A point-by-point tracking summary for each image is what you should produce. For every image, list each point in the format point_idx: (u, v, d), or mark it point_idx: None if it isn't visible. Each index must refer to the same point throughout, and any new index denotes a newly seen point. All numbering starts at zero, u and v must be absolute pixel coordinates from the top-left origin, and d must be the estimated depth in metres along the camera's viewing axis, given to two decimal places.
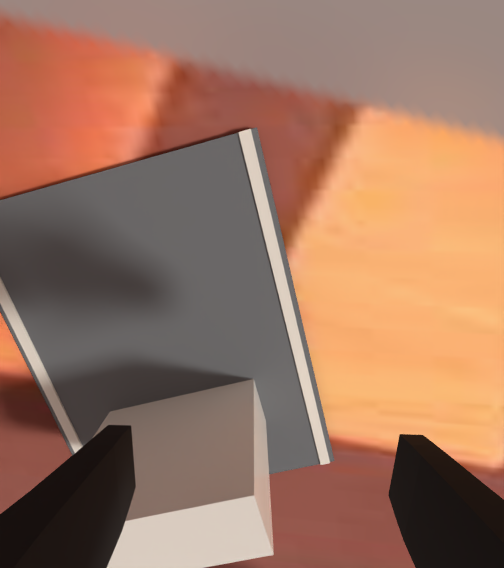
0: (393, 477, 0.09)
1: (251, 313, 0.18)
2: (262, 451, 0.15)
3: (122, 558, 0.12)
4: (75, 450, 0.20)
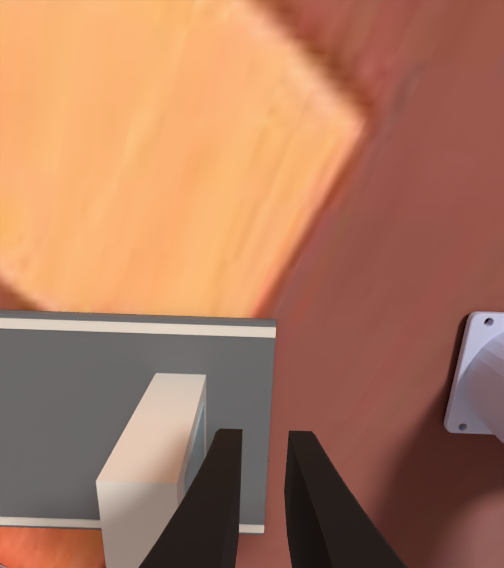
0: (286, 473, 0.09)
1: (87, 357, 0.19)
2: (168, 415, 0.15)
3: None
4: None
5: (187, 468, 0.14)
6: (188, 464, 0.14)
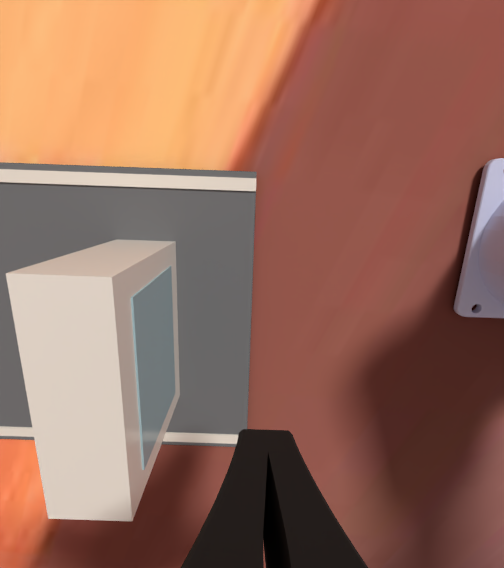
0: None
1: (35, 218, 0.16)
2: (121, 253, 0.13)
3: (88, 443, 0.10)
4: (165, 439, 0.19)
5: (136, 293, 0.11)
6: (138, 291, 0.11)
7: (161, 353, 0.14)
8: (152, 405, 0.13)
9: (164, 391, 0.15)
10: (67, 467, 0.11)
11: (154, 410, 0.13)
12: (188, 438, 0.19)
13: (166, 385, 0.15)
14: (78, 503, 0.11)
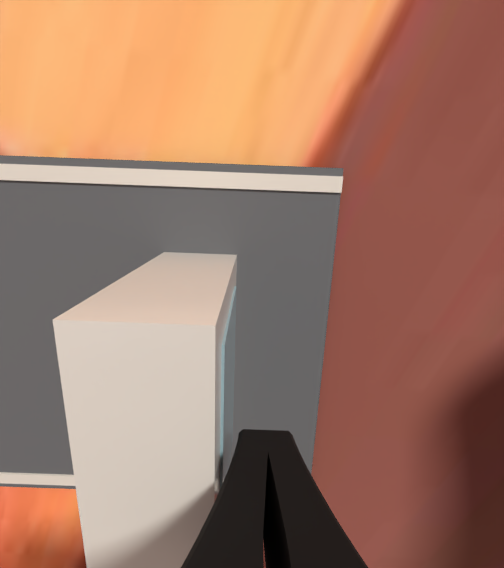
0: None
1: (64, 226, 0.13)
2: (187, 275, 0.10)
3: (160, 552, 0.07)
4: None
5: (224, 337, 0.08)
6: (225, 333, 0.08)
7: (230, 401, 0.11)
8: None
9: None
10: None
11: None
12: None
13: (230, 437, 0.12)
14: None
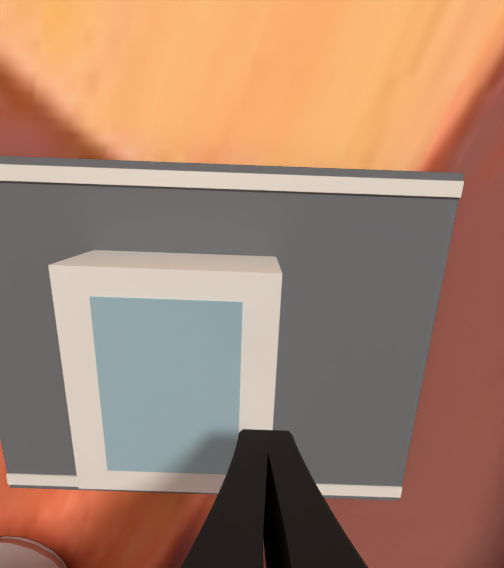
0: None
1: (179, 231, 0.13)
2: (176, 261, 0.11)
3: None
4: None
5: (102, 297, 0.10)
6: (109, 297, 0.10)
7: (179, 393, 0.11)
8: (138, 429, 0.12)
9: (185, 442, 0.12)
10: None
11: (144, 438, 0.12)
12: (330, 490, 0.16)
13: (195, 440, 0.12)
14: None
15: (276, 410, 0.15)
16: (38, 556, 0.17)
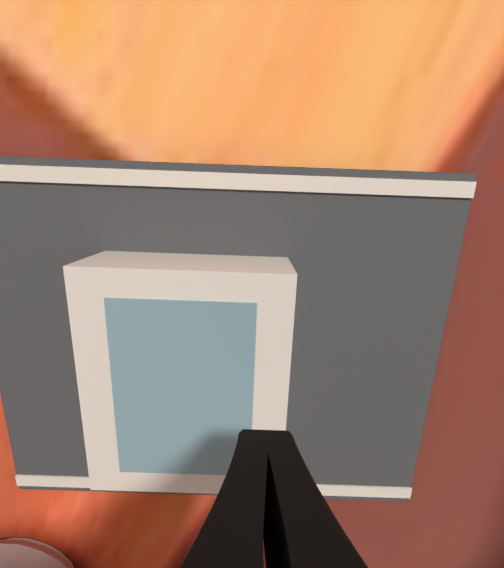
0: None
1: (191, 231, 0.13)
2: (189, 262, 0.11)
3: None
4: None
5: (117, 298, 0.10)
6: (123, 298, 0.10)
7: (192, 395, 0.11)
8: (151, 430, 0.12)
9: (198, 443, 0.12)
10: None
11: (157, 439, 0.12)
12: (340, 491, 0.16)
13: (208, 442, 0.12)
14: None
15: None
16: (47, 557, 0.17)
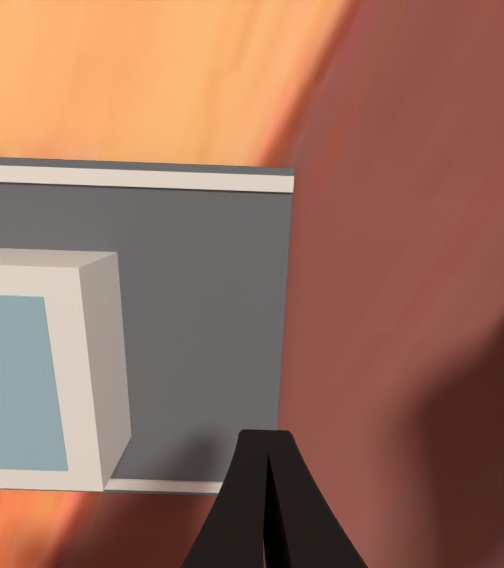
0: None
1: (16, 226, 0.13)
2: None
3: None
4: (176, 489, 0.16)
5: None
6: None
7: None
8: None
9: (9, 438, 0.12)
10: None
11: None
12: (203, 487, 0.16)
13: (19, 437, 0.12)
14: None
15: (138, 407, 0.15)
16: None
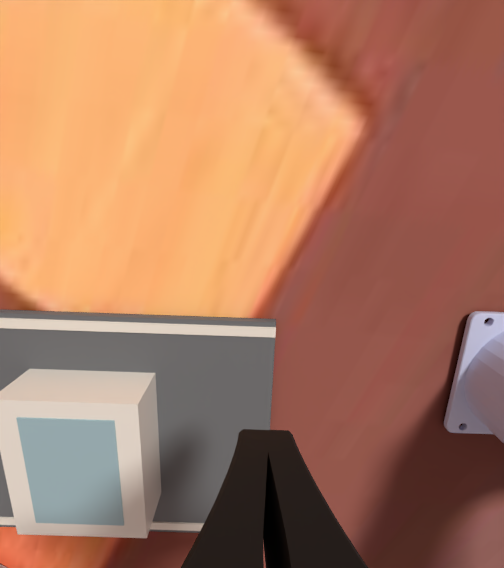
0: None
1: (87, 357, 0.19)
2: (77, 387, 0.17)
3: None
4: (193, 529, 0.22)
5: (24, 418, 0.16)
6: (28, 418, 0.16)
7: (79, 475, 0.17)
8: (54, 496, 0.18)
9: (86, 505, 0.18)
10: None
11: (59, 502, 0.18)
12: None
13: (93, 504, 0.18)
14: None
15: (166, 472, 0.21)
16: None
